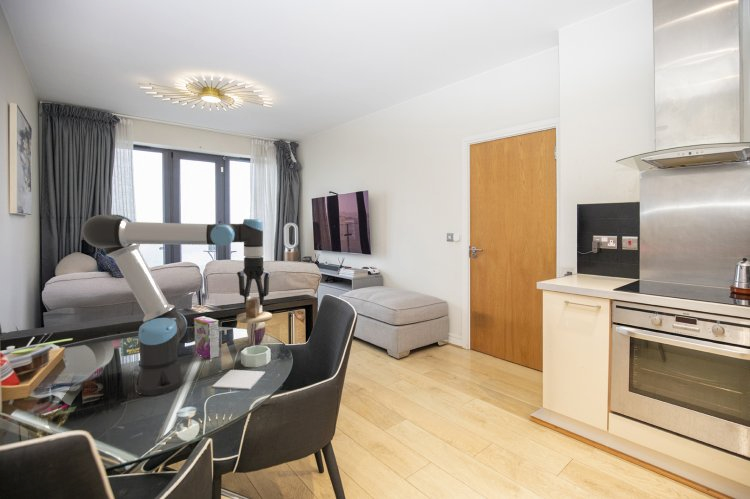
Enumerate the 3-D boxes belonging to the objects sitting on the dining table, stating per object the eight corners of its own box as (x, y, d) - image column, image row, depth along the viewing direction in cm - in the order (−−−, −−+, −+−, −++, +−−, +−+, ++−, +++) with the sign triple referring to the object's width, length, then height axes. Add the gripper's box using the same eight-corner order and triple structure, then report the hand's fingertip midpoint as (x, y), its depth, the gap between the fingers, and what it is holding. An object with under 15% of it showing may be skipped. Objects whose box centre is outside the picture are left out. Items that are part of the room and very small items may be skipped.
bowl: (237, 366, 149) (237, 354, 149) (249, 356, 160) (248, 345, 160) (263, 367, 148) (263, 355, 148) (273, 357, 159) (273, 346, 159)
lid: (230, 322, 145) (229, 302, 145) (245, 313, 159) (245, 294, 159) (264, 324, 144) (264, 303, 143) (276, 314, 158) (276, 296, 157)
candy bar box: (194, 354, 161) (193, 318, 160) (204, 351, 165) (203, 315, 164) (209, 360, 155) (208, 322, 154) (220, 356, 159) (219, 319, 158)
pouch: (263, 354, 163) (263, 312, 161) (244, 355, 161) (243, 313, 159) (267, 335, 187) (266, 299, 185) (250, 336, 185) (249, 300, 183)
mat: (212, 387, 131) (212, 386, 131) (230, 370, 145) (230, 369, 145) (249, 389, 130) (249, 388, 129) (265, 372, 143) (265, 371, 143)
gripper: (277, 256, 152) (277, 310, 155) (237, 255, 154) (238, 309, 156) (270, 258, 145) (270, 315, 147) (229, 257, 146) (230, 314, 148)
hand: (254, 312), depth 152 cm, fingers closed on lid, 4 cm apart
